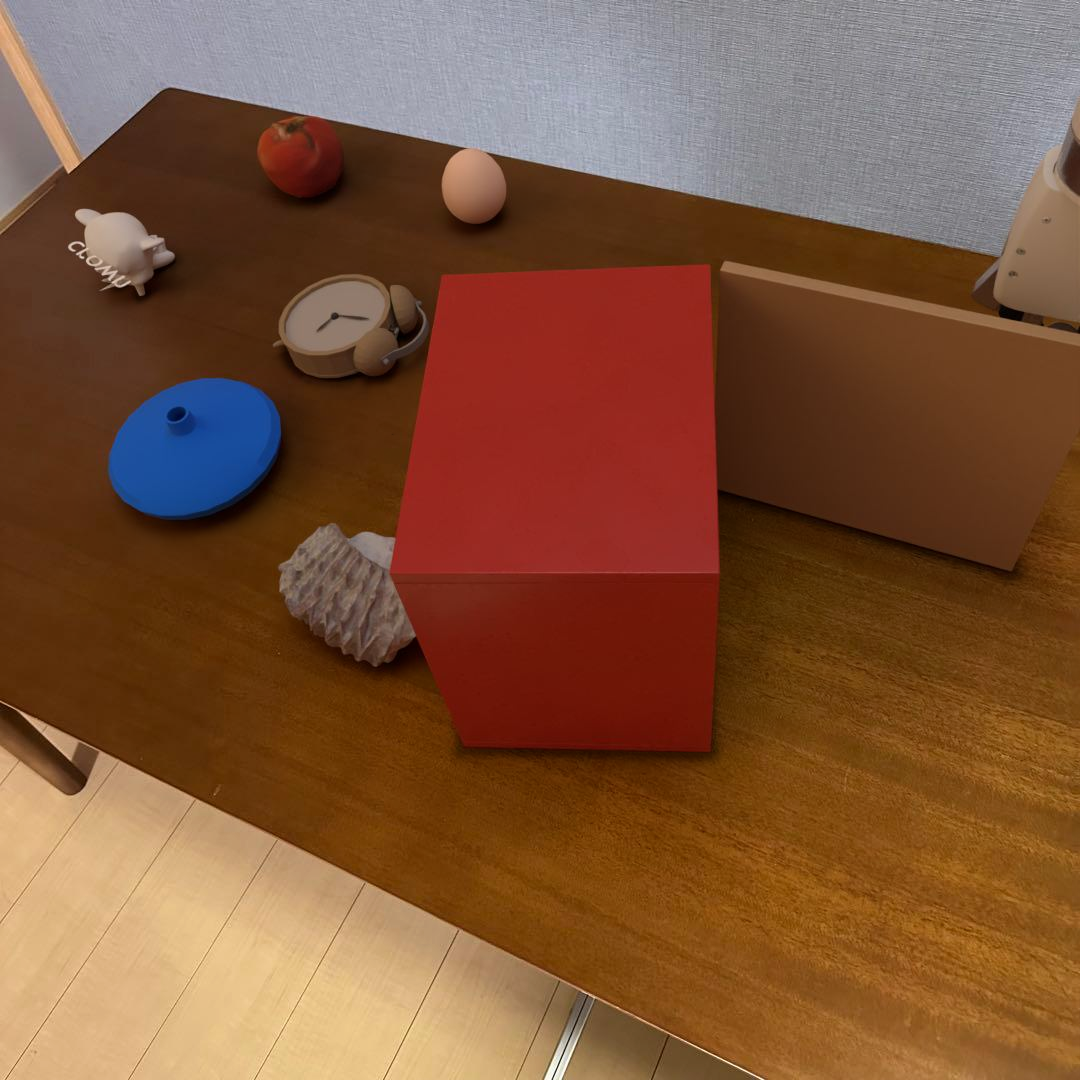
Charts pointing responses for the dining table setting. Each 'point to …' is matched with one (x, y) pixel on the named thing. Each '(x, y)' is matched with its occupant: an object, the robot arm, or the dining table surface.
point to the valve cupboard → (567, 509)
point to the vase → (195, 448)
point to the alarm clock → (349, 326)
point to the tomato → (301, 155)
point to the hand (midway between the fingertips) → (1041, 377)
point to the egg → (473, 186)
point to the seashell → (347, 593)
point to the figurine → (121, 248)
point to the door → (891, 411)
